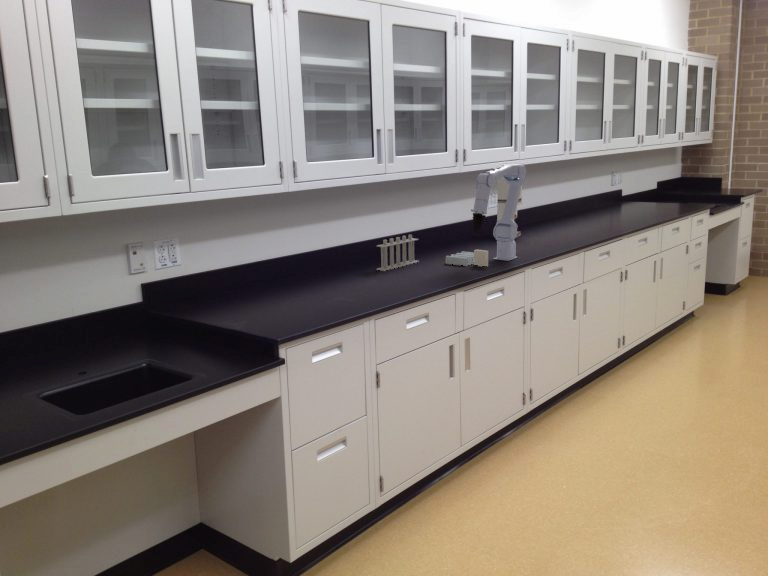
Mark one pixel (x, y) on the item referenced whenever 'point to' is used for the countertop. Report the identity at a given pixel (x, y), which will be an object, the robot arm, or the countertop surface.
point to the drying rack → (461, 259)
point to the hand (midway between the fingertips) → (476, 231)
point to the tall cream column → (505, 199)
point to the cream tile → (481, 257)
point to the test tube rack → (397, 252)
